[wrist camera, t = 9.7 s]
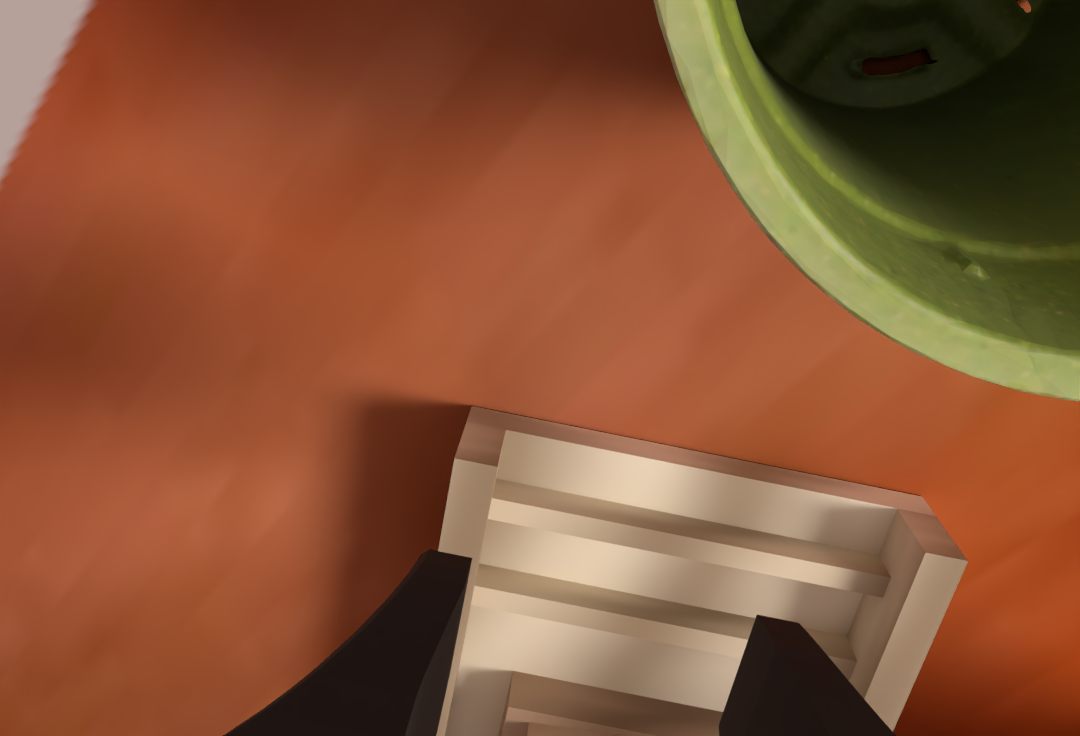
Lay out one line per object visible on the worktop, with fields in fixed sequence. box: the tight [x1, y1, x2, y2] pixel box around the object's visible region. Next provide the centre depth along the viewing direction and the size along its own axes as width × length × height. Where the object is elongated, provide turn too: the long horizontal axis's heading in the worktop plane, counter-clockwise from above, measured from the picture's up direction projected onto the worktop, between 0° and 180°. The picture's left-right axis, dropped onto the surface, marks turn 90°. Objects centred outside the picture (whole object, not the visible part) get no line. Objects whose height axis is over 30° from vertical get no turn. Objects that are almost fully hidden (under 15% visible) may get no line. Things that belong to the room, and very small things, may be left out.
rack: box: [436, 406, 968, 736], centre depth 24 cm, size 12×16×3 cm
